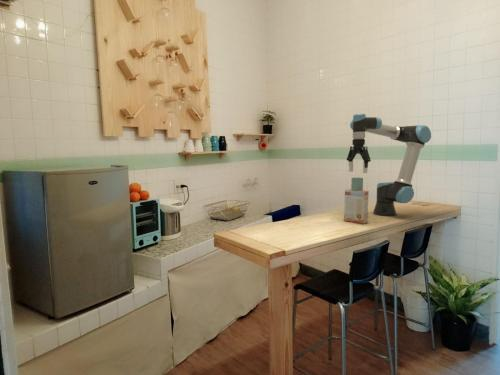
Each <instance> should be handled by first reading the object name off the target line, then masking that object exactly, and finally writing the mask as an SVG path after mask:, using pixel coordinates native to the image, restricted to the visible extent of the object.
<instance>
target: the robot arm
mask: <svg viewBox="0 0 500 375" xmlns="http://www.w3.org/2000/svg"><path fill="white" fill-rule="evenodd" d="M349 128H350V129H351V131H352V146H350V147H349V152H348V154H347V158H346V161H348V172H349V173H350V172H354V159H355V157H356V155H358V154H359V155H360V157H361V159H362V161H363V162H362V174H368V167H369V162H371V161H372V160H371V157H370V153H369V150H368V146H366V133H368V134H369V133H370V134H374V135H378V136H383V137H387V138H389V139H391V140H393V141H397V142H400V143H405V145H406V149H405V152H404V156H403V160H402V162H401V166H400V170H399V172H398V177H397V179H396V180H394V182H393V181H389V182H378V183H377V185H376V201H375V202H376V203H375V206H374V209H373V212H372V213H373V214H374V215H377V216H387V217H392V216H396V215H397V211H396V208H395V203H399V204H408V203H409V202H411V201H412V200H413V198H414V195H415V191H414V188H413V184H412V180H413V176H414V173H415V170H416V167H417V163H418V158H419V156H420V153H421V149H422V148H424V147H425V145H426V143H429V141H430V140H431V138H432V133H431V129H430V128H429V126H427V125H425V124H418V125H406V126H398V125H394V126H392V125H388V124H384V123H383V121H382V118H380V117H377V116H376V117H373V116H372V117H371V116H366V113H355V114H353V116H352V120H351V121H350V125H349Z"/></svg>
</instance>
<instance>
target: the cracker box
mask: <svg viewBox="0 0 500 375" xmlns="http://www.w3.org/2000/svg"><path fill="white" fill-rule="evenodd" d="M369 193H370V192H369V190H363V191H354V190H351V188H350V189H349V188H348V189H345V190H344V212H343V219H344V220H343V221H344V222H348V223H353V224H354V223H355V224H360V225H364V224H368V221H369V220H368V218H369V216H368V215H369Z"/></svg>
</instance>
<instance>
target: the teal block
mask: <svg viewBox="0 0 500 375" xmlns="http://www.w3.org/2000/svg"><path fill="white" fill-rule="evenodd" d="M350 189H351V190H354V191H364V178H363V177H351V188H350Z"/></svg>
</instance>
